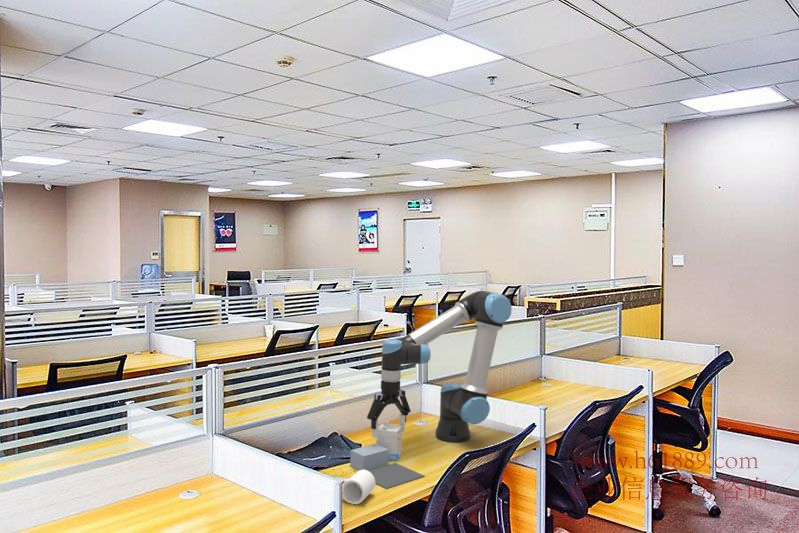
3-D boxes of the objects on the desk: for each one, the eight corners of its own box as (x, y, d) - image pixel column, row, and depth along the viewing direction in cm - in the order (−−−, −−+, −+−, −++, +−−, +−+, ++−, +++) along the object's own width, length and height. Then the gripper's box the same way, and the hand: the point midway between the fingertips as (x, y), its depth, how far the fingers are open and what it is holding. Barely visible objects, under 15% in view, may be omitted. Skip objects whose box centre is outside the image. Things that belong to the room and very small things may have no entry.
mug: (375, 494, 207) (376, 471, 207) (364, 506, 198) (364, 482, 197) (342, 489, 211) (342, 466, 211) (329, 500, 202) (330, 476, 201)
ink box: (397, 461, 238) (397, 427, 238) (375, 459, 240) (376, 425, 239) (401, 454, 247) (402, 420, 246) (380, 452, 248) (381, 418, 248)
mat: (395, 463, 236) (395, 462, 236) (424, 476, 224) (424, 475, 224) (357, 474, 224) (357, 473, 224) (386, 489, 212) (386, 487, 212)
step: (375, 459, 240) (375, 443, 240) (388, 465, 234) (389, 449, 234) (350, 466, 232) (350, 450, 232) (363, 472, 226) (363, 456, 226)
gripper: (408, 374, 253) (405, 426, 254) (359, 381, 236) (357, 437, 237) (420, 378, 247) (418, 431, 248) (371, 385, 231) (369, 442, 232)
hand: (388, 434), depth 243 cm, fingers open, 13 cm apart
